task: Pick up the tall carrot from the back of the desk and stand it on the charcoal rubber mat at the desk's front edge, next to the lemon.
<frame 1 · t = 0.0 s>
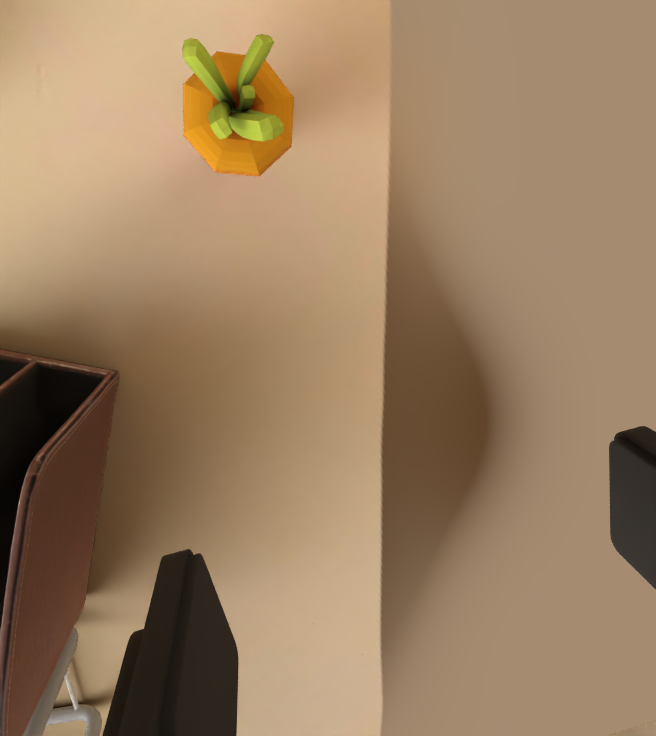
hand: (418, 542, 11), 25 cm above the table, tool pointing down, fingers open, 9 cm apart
carrot: (242, 139, 31), on the table
letter holder: (31, 481, 36), on the table
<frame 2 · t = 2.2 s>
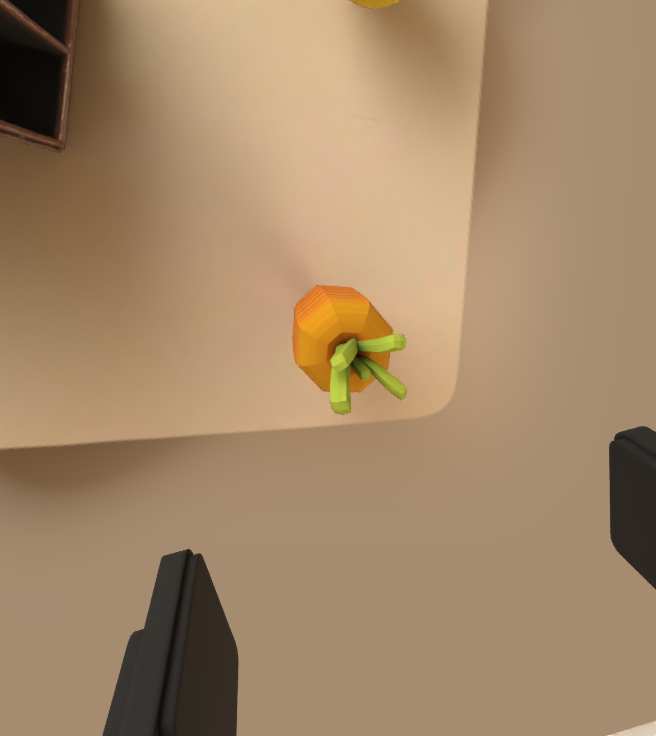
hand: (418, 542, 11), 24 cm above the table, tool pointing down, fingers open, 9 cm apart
carrot: (318, 301, 34), on the table
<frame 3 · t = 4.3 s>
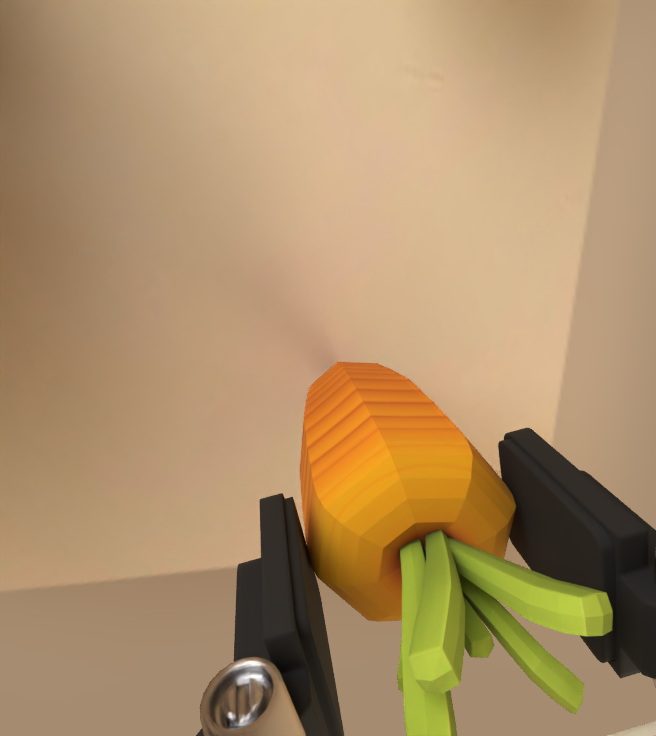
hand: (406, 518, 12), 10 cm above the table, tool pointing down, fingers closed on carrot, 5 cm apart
carrot: (338, 374, 21), on the table, touching gripper
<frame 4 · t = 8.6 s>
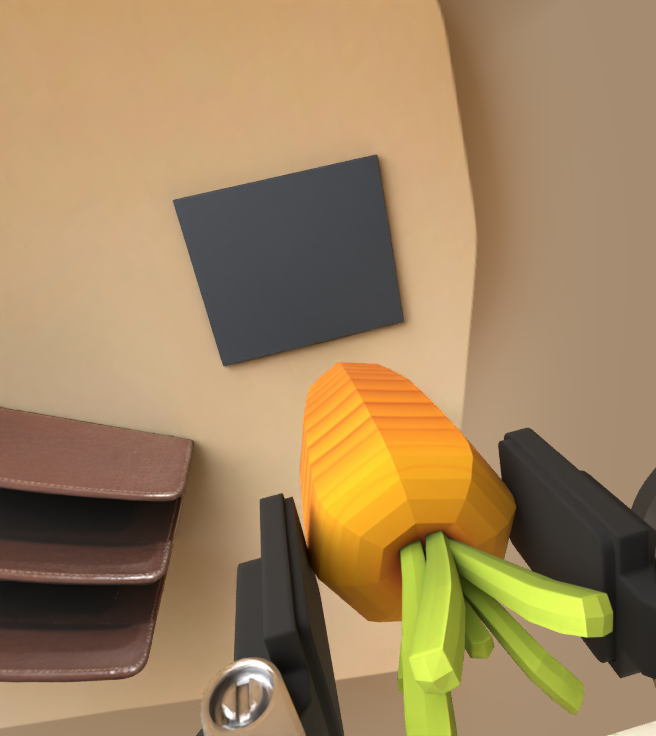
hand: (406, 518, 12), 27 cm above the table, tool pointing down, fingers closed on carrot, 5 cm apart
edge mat: (296, 264, 36), on the table
carrot: (338, 374, 21), point 17 cm above the table, touching gripper
letter holder: (54, 471, 39), on the table
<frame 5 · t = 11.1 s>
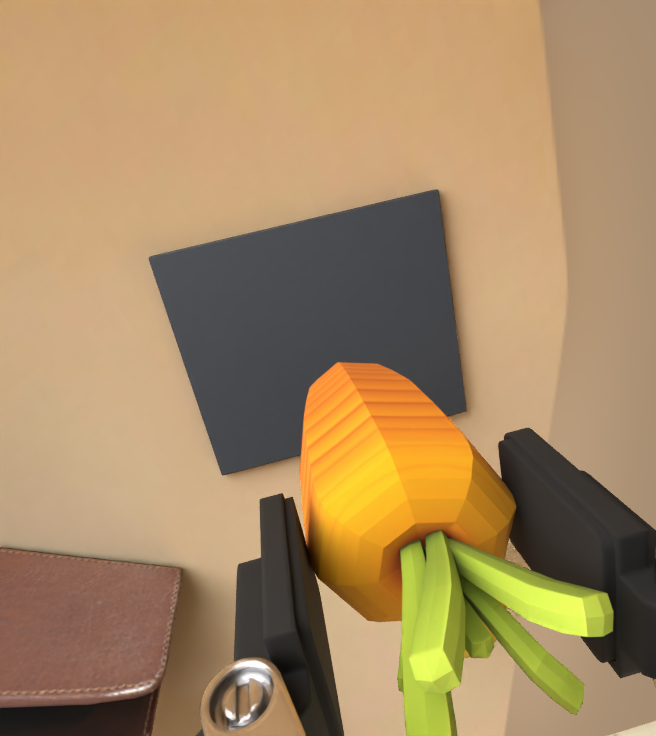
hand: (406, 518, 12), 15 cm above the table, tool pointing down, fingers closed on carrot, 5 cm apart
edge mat: (321, 339, 26), on the table
carrot: (338, 374, 21), point 5 cm above the table, touching gripper
when the fingers open (10 cm above the table, at t = 12.8 s): carrot stays where it is, resting on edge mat.
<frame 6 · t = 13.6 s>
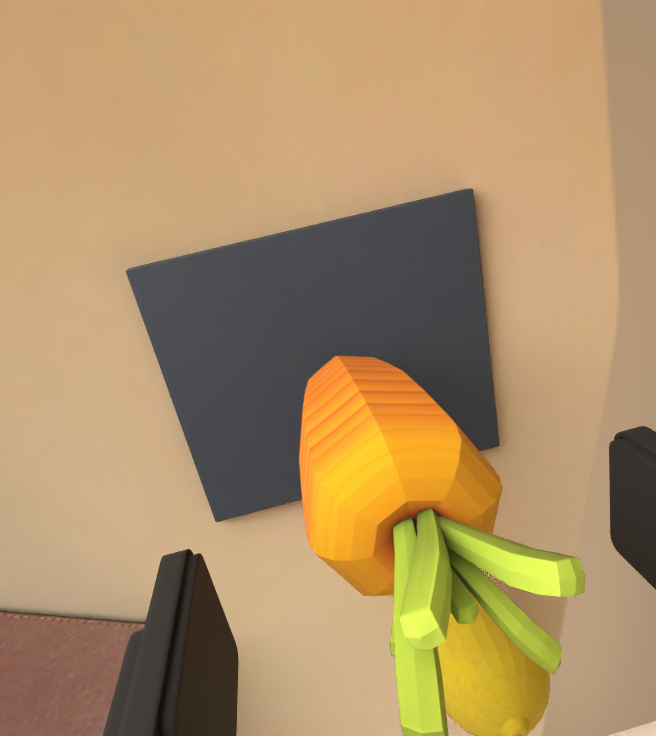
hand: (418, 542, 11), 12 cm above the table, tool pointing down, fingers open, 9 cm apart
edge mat: (332, 364, 22), on the table
carrot: (336, 368, 22), resting on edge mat
lemon: (446, 586, 28), on the table
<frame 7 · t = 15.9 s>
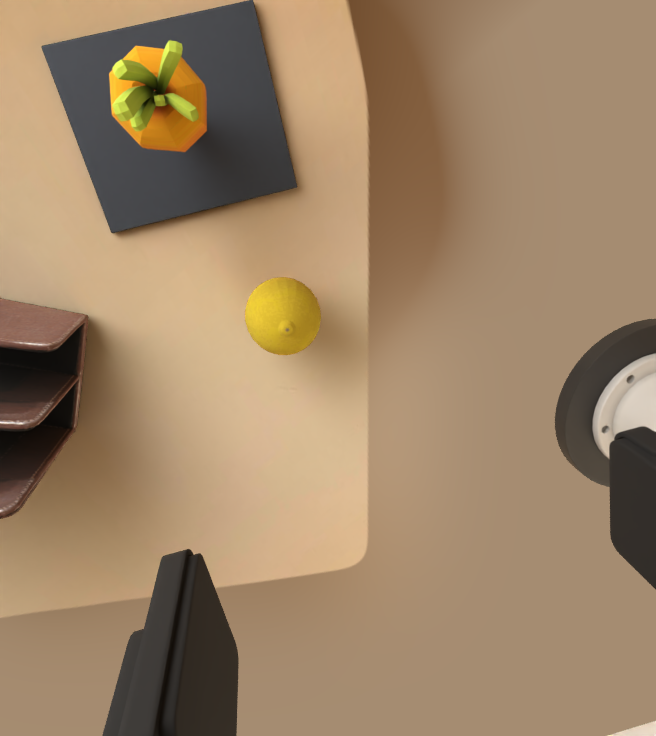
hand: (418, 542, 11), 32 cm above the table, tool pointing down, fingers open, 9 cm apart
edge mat: (179, 122, 36), on the table
carrot: (180, 123, 35), resting on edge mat
lemon: (279, 303, 41), on the table
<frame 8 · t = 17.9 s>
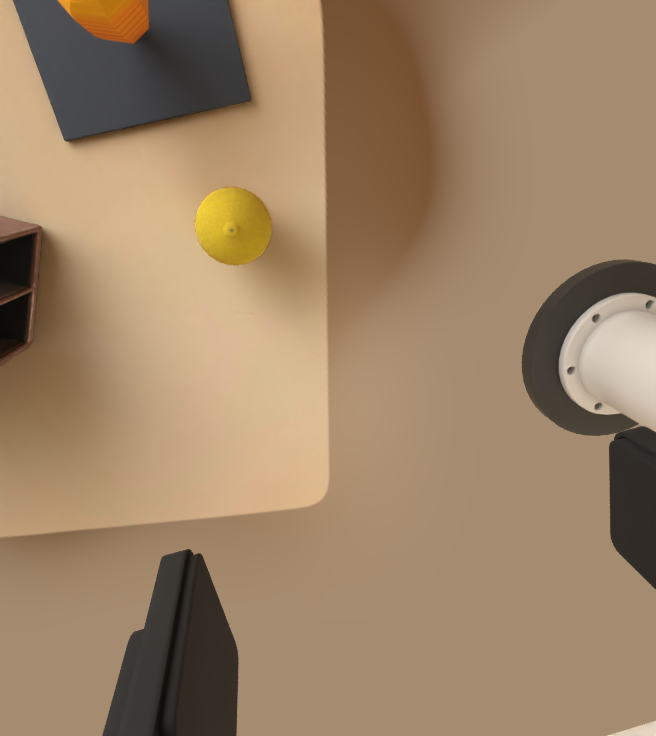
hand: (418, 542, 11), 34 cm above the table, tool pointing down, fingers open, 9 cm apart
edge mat: (132, 28, 36), on the table
carrot: (133, 28, 35), resting on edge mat
lemon: (235, 223, 41), on the table
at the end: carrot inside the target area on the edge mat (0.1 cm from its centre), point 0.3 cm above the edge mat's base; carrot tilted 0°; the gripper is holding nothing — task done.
